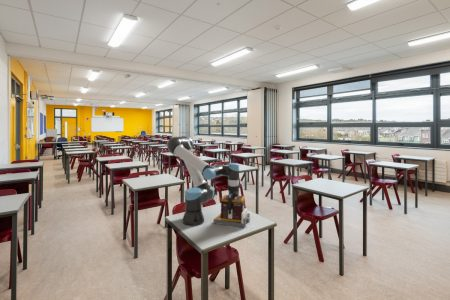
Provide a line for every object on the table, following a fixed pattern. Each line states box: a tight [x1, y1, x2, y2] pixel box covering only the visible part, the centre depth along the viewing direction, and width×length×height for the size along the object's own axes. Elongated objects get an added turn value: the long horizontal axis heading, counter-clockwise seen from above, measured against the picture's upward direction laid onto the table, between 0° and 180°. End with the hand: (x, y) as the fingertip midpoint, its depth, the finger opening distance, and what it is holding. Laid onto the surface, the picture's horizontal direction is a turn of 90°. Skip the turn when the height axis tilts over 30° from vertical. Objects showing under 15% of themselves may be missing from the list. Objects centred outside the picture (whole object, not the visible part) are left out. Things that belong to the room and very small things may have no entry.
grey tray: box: [212, 212, 251, 229], centre depth 173 cm, size 23×13×6 cm, turn 68°
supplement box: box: [220, 194, 246, 222], centre depth 172 cm, size 10×15×16 cm
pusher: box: [241, 207, 251, 224], centre depth 169 cm, size 4×11×9 cm, turn 158°
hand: (233, 215), depth 172 cm, fingers closed on supplement box, 11 cm apart
